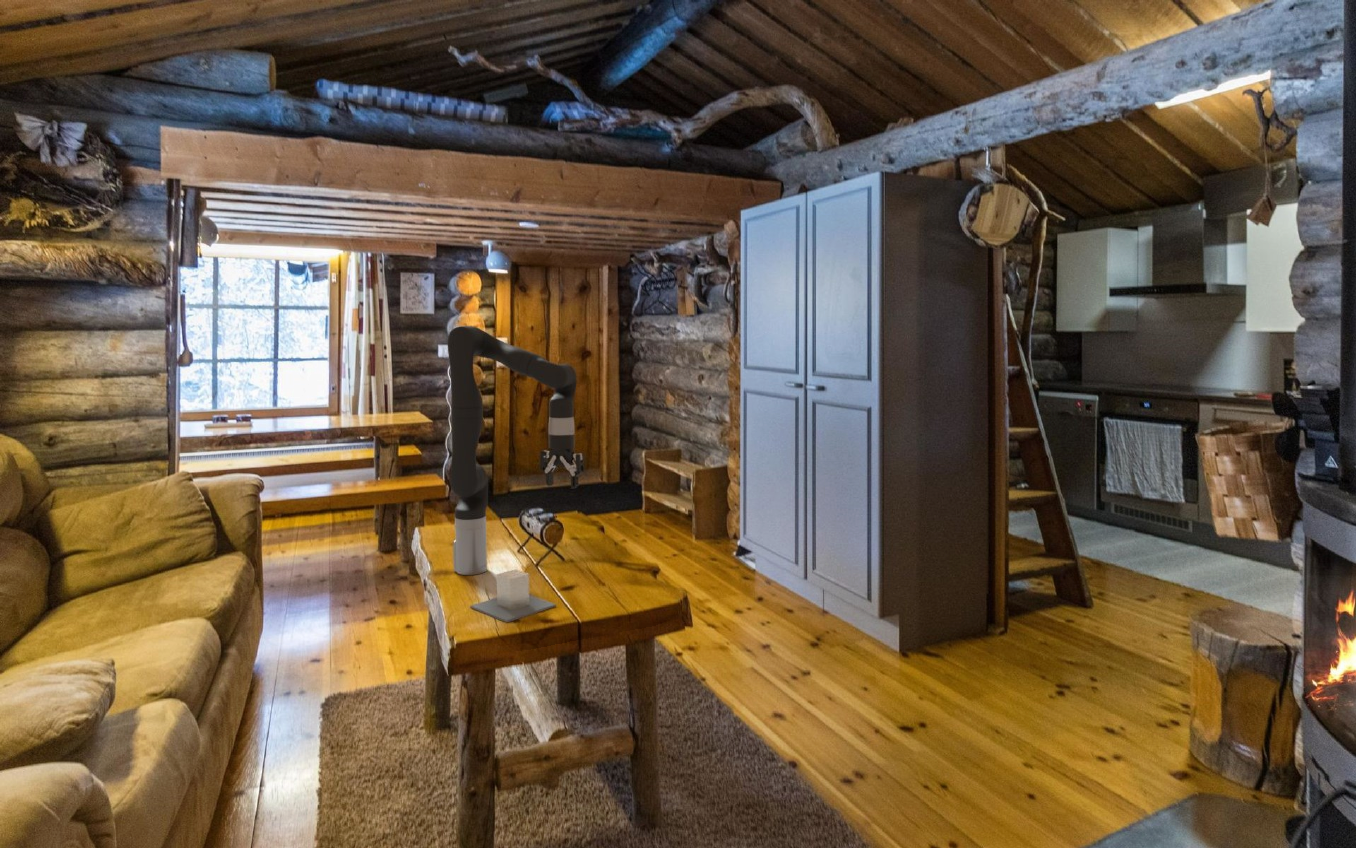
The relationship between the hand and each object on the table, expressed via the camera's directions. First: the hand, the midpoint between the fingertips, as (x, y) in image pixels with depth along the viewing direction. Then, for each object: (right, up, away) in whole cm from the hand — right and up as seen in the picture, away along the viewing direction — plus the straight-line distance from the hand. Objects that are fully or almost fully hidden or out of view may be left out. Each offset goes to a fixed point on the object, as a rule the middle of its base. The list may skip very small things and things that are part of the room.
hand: (562, 486), depth 227 cm
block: (-10, -30, -21) cm, 38 cm away
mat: (-10, -31, -21) cm, 38 cm away
